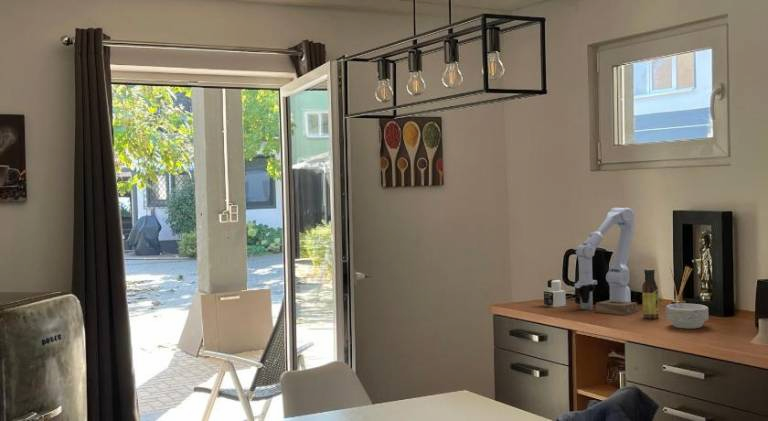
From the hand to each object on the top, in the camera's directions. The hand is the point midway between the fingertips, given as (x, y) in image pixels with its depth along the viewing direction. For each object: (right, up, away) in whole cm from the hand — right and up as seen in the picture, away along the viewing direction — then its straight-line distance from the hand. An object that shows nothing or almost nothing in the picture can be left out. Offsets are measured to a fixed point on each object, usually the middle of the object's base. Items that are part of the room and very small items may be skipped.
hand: (586, 302), depth 369 cm
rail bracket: (0, -3, 0) cm, 3 cm away
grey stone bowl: (+26, -4, -51) cm, 57 cm away
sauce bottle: (+19, -3, -28) cm, 35 cm away
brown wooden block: (+10, -3, -11) cm, 15 cm away
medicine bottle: (-11, -3, +13) cm, 17 cm away
